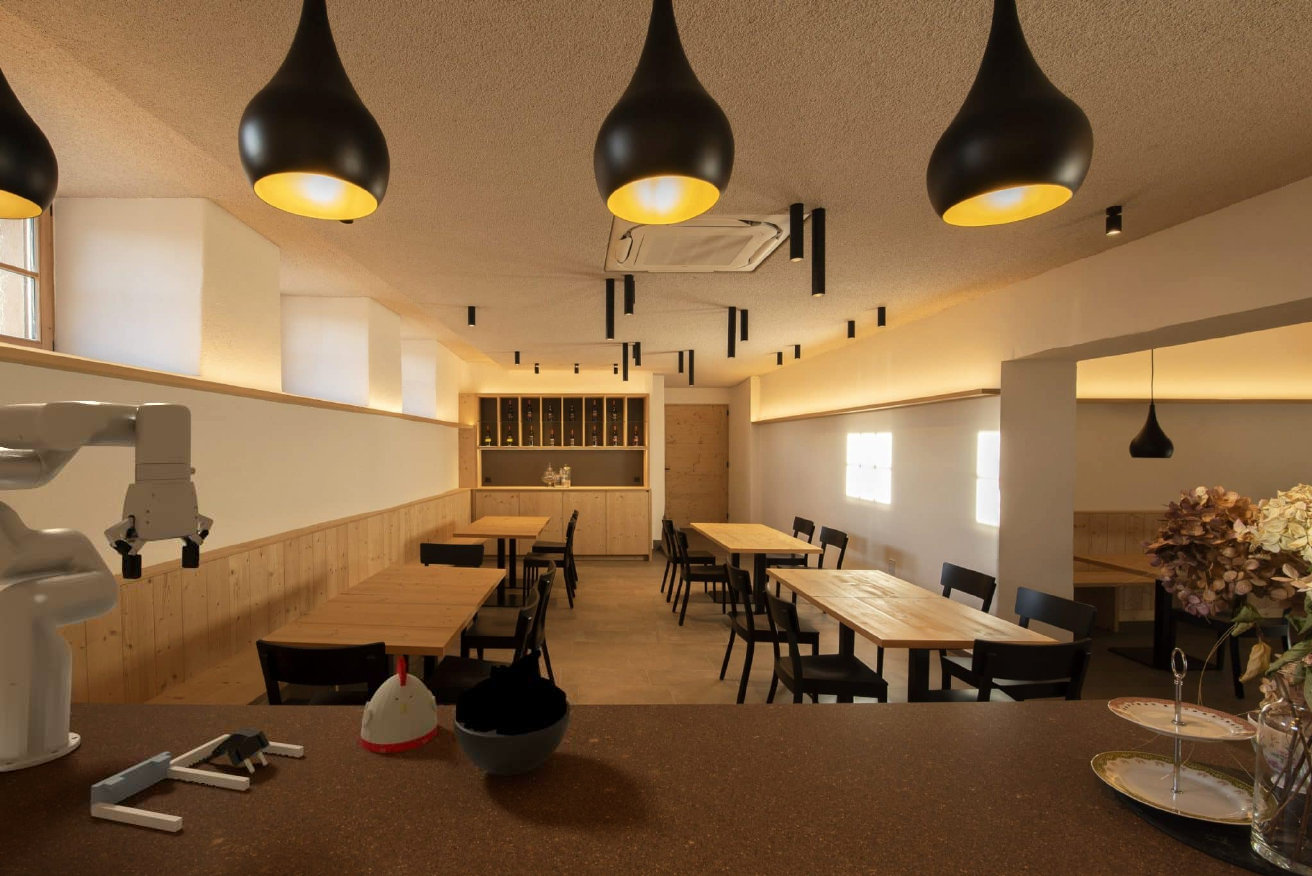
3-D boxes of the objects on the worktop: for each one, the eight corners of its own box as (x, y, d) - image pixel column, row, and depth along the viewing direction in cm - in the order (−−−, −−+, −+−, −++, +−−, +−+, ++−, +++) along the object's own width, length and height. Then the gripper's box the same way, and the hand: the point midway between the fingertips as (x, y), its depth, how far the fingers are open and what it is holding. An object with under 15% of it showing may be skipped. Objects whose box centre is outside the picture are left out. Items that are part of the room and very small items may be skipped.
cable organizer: (86, 814, 90) (87, 788, 90) (227, 743, 112) (228, 722, 112) (175, 832, 86) (175, 804, 86) (303, 754, 108) (303, 732, 108)
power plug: (217, 749, 109) (264, 715, 107) (236, 786, 107) (284, 753, 106) (187, 765, 103) (236, 730, 101) (207, 804, 102) (257, 769, 100)
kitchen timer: (362, 760, 107) (365, 675, 107) (357, 729, 119) (359, 653, 119) (443, 742, 114) (445, 663, 114) (431, 714, 126) (432, 643, 126)
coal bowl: (481, 817, 90) (483, 691, 91) (435, 763, 106) (437, 656, 106) (591, 773, 103) (593, 663, 104) (536, 731, 118) (537, 636, 119)
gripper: (195, 473, 113) (194, 564, 113) (89, 476, 96) (88, 582, 96) (227, 472, 111) (226, 564, 111) (125, 475, 95) (123, 584, 94)
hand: (162, 573), depth 103 cm, fingers open, 9 cm apart
